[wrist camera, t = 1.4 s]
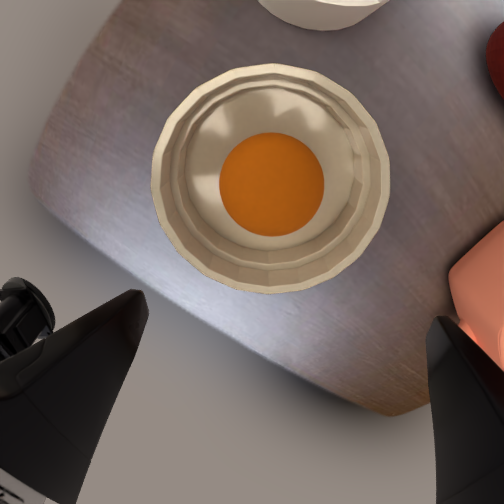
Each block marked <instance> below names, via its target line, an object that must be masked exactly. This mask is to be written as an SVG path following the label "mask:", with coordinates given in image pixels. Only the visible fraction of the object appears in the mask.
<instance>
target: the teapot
mask: <svg viewBox="0 0 504 504" xmlns="http://www.w3.org/2000/svg"><path fill="white" fill-rule="evenodd" d="M448 277H449V285H450V290H451V294H452V298H453V301H454V305H455V309H456V312H457V314H458V317H459V319H460V322H459V324H458V326H459V327H460V328H461V329H462V330H463V331H464V332H465V333H466V334H467V335H468V336H469V337H470V338H471V339H472V340H473V341H475V342H476V343H477V344H478V345H479V346H480V347H481V348H482V349H483V350H484V351H485V352H486V354H487V355H488V356H489V357H490V358H491V359H492V360H493V361H494V362H495V363H496V364H497V365H498V366H499V367H500V368H501V369H502V370H503V371H504V221H502V222H501V223H500V224H498V225H497V226H496V227H495V228H494V229H493V230H491V231H490V232H489V233H488V234H487V235H486V236H485V237H484V238H483V239H481V240H480V241H479V242H478V243H477V244H476V245H475V246H474V247H473V248H472V249H471V250H469V251H468V252H467V253H466V254H465V255H464V256H463V257H462V258H461V259H460V260H459V261H458V262H457V263H456V264H455V265H454V266H453V267H452V268H451V270H450V272H449V276H448Z"/></svg>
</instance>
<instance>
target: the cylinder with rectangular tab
mask: <svg viewBox="0 0 504 504" xmlns="http://www.w3.org/2000/svg"><path fill="white" fill-rule="evenodd" d="M258 1H259V3H260V4H261V5H262V6H263V7H265V8H266V9H267V10H268V11H269V12H270V13H271V14H273V15H274V16H276V17H278V18H280V19H281V20H283V21H285V22H287V23H289V24H292V25H295V26H298V27H301V28H304V29H312V30H319V31H327V30H340V29H343V28H346V27H349V26H353V25H355V24H356V23H358V22H359V21H361V20H362V19H364V18H366V17H367V16H368V15H370V14H371V13H372V12H374V11H375V10H377V9H378V8H379V7H381V6H382V5H384V4H385V3H387V2H388V1H389V0H258Z"/></svg>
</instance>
